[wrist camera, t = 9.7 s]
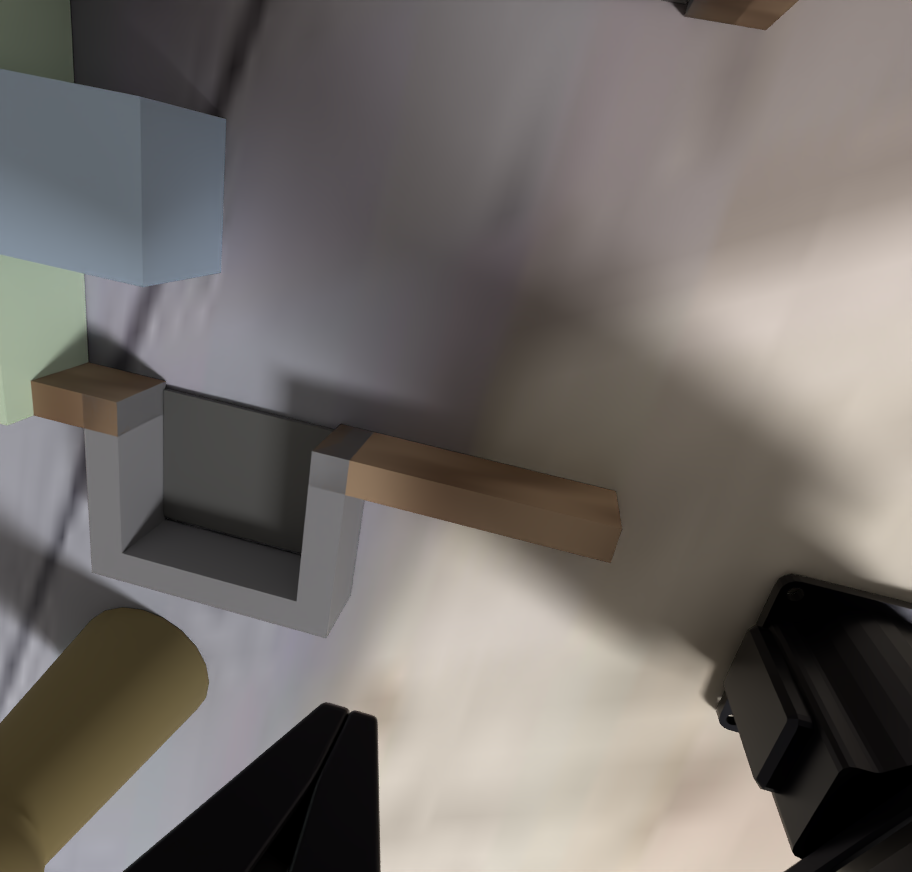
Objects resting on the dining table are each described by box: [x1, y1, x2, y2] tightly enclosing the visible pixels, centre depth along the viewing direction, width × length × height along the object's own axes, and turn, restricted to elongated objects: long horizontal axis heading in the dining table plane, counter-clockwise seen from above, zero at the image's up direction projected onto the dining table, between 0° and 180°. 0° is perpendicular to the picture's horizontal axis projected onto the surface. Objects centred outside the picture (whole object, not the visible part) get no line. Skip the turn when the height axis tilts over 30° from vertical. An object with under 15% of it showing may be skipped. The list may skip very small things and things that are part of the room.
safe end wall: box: [0, 0, 88, 425], centre depth 17 cm, size 1×15×4 cm, turn 170°
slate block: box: [0, 69, 226, 287], centre depth 17 cm, size 4×4×4 cm
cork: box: [0, 607, 209, 872], centre depth 21 cm, size 6×6×11 cm
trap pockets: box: [82, 0, 721, 638], centre depth 17 cm, size 16×27×2 cm, turn 170°
